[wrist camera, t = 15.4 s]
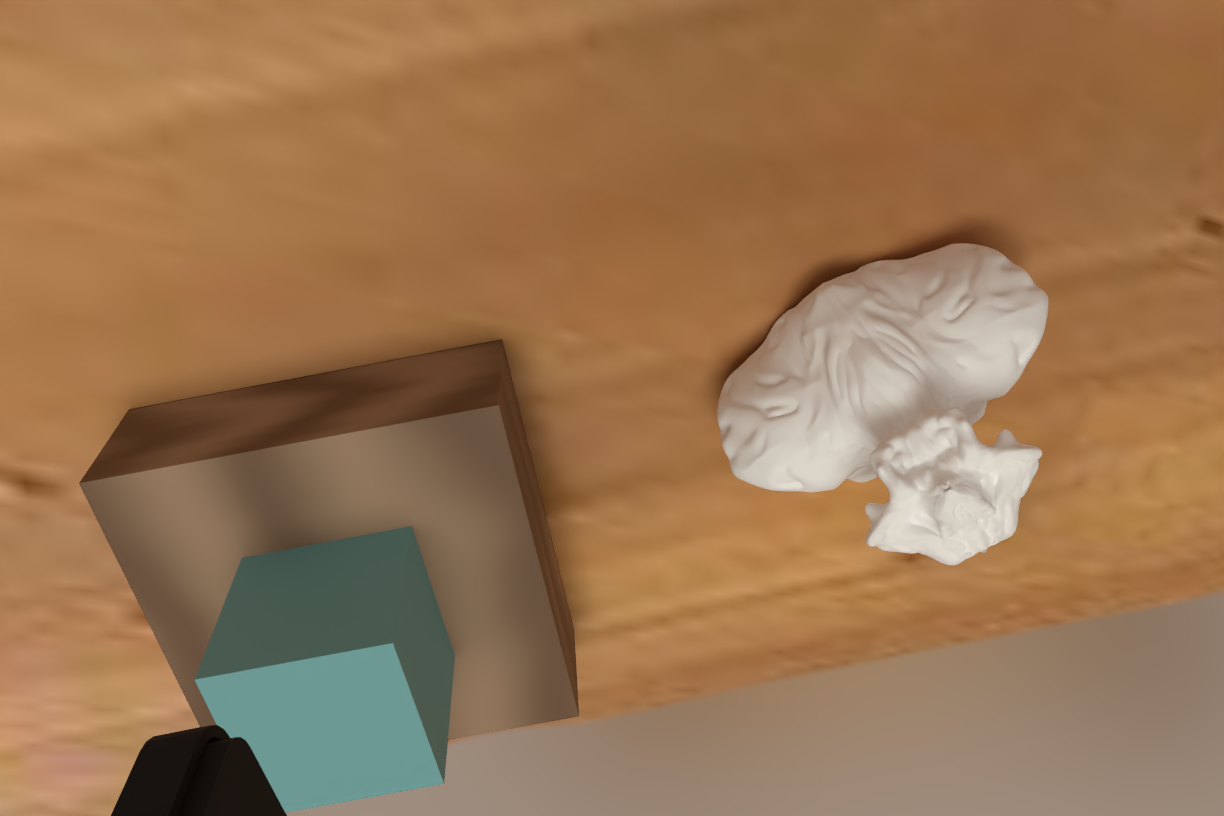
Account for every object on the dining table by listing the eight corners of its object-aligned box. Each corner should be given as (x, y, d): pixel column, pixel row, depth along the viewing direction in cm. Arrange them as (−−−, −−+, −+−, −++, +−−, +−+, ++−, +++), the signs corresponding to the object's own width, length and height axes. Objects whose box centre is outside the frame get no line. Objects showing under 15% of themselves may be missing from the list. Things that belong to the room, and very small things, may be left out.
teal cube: (412, 525, 37) (392, 643, 32) (455, 656, 40) (444, 783, 35) (241, 557, 37) (194, 679, 32) (297, 685, 40) (262, 816, 35)
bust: (713, 400, 44) (846, 655, 39) (647, 338, 37) (797, 637, 32) (983, 242, 41) (1160, 494, 36) (963, 145, 34) (1178, 437, 30)
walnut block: (501, 340, 39) (498, 405, 35) (574, 631, 46) (578, 716, 42) (128, 410, 40) (79, 483, 35) (254, 688, 46) (226, 779, 42)
